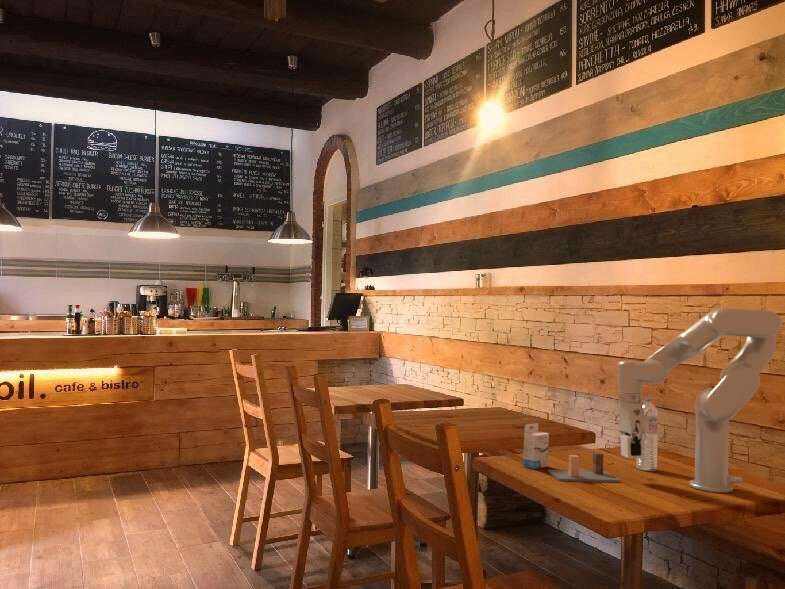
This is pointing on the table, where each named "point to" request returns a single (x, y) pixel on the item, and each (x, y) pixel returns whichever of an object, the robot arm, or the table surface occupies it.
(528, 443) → the ink box
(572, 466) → the post
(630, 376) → the robot arm
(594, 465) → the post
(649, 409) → the water bottle
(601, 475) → the board
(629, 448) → the white block
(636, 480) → the table surface
